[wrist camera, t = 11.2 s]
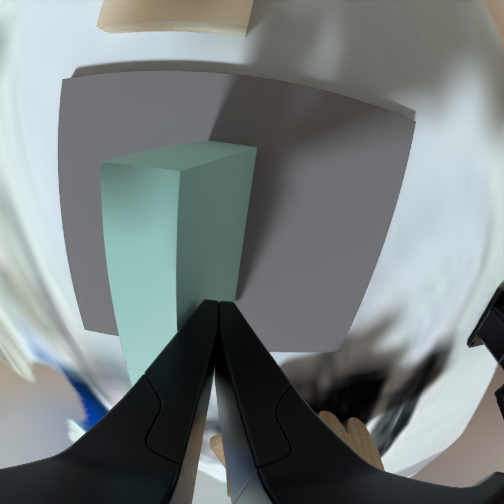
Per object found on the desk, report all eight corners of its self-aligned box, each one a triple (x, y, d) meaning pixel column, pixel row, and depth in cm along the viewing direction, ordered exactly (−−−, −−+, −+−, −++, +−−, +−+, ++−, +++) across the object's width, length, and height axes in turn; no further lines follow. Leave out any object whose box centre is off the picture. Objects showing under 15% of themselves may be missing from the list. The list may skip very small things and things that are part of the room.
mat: (409, 120, 11) (415, 121, 10) (336, 345, 17) (338, 351, 17) (69, 80, 9) (62, 79, 8) (88, 323, 15) (84, 329, 15)
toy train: (254, 382, 18) (266, 514, 10) (372, 422, 24) (397, 496, 15) (210, 411, 20) (209, 521, 11) (333, 443, 26) (350, 514, 17)
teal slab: (257, 147, 10) (180, 171, 5) (232, 315, 14) (182, 413, 8) (208, 140, 10) (101, 161, 5) (195, 304, 14) (133, 391, 9)
